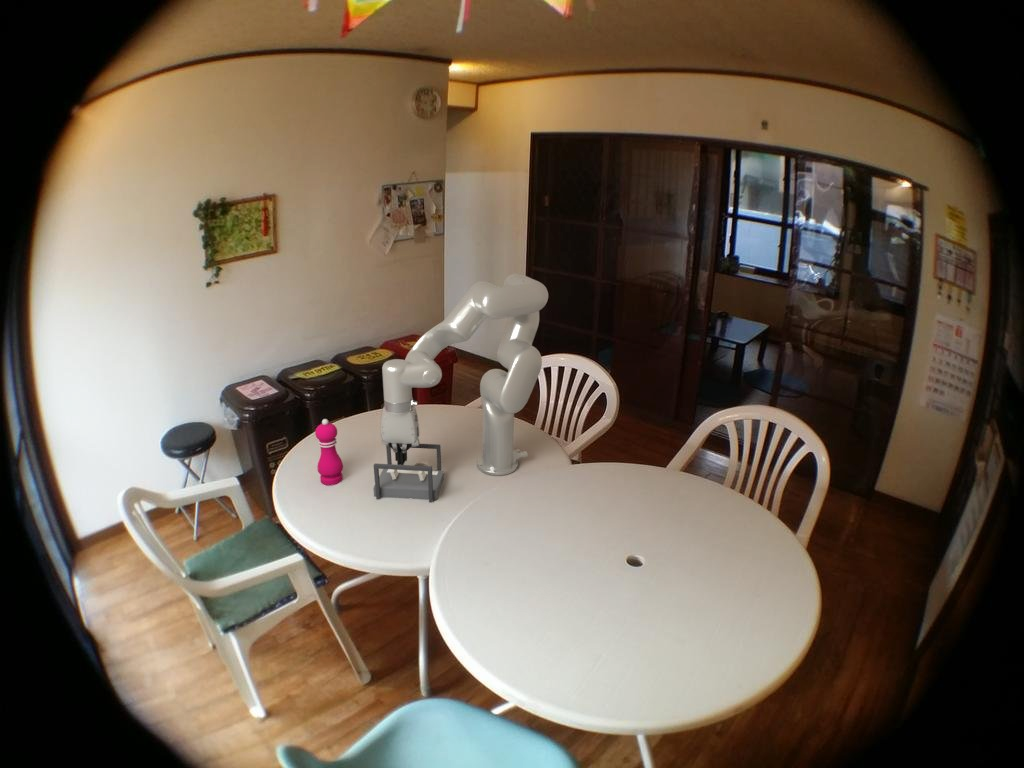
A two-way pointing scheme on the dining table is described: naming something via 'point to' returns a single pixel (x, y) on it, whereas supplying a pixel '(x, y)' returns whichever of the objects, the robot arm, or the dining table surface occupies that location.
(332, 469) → the pepper mill
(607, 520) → the dining table surface
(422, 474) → the cream cuboid
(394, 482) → the breaker panel
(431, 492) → the dark grey open frame
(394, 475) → the paddle
